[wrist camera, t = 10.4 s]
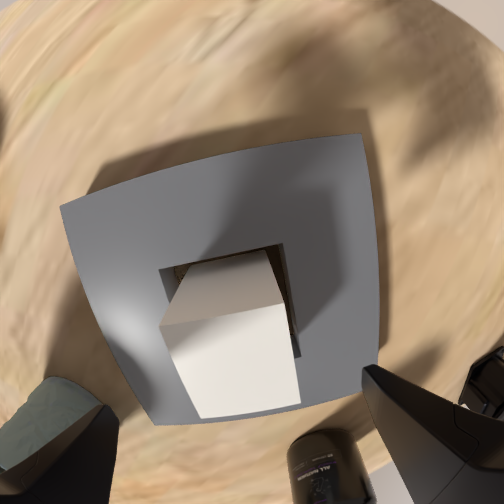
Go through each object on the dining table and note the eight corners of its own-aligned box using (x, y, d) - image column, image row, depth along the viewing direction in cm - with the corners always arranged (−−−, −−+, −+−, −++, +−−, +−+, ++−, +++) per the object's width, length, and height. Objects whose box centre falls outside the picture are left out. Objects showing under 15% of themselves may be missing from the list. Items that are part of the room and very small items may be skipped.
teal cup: (36, 403, 19) (-9, 474, 7) (38, 347, 17) (-35, 433, 5) (113, 450, 21) (86, 533, 9) (135, 409, 19) (96, 525, 7)
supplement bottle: (302, 424, 20) (331, 543, 8) (365, 426, 21) (407, 521, 9) (274, 461, 21) (287, 559, 10) (331, 462, 22) (357, 547, 11)
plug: (264, 249, 16) (284, 303, 9) (279, 324, 17) (300, 403, 10) (190, 265, 16) (158, 326, 9) (212, 337, 17) (200, 418, 10)
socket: (343, 139, 14) (361, 133, 12) (363, 366, 18) (375, 386, 16) (81, 201, 14) (59, 206, 12) (161, 403, 18) (154, 425, 16)
